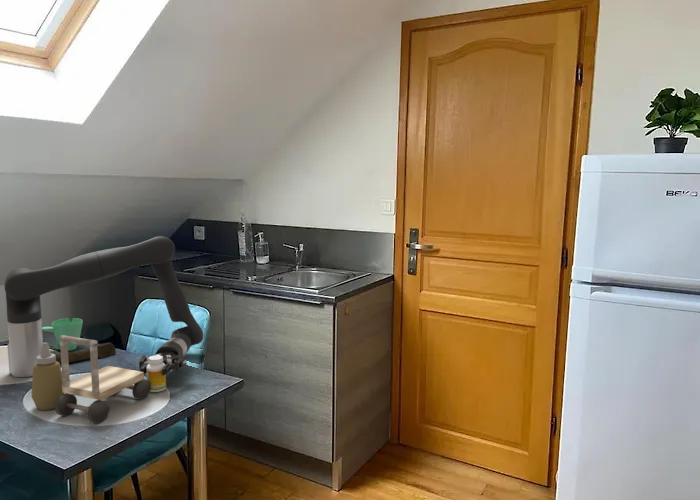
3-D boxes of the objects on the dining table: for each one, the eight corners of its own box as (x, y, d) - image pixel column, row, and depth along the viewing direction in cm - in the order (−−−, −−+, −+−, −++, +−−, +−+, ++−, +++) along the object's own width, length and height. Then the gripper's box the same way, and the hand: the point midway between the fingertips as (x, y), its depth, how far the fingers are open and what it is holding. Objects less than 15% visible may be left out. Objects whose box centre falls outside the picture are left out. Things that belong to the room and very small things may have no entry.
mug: (77, 342, 208) (76, 316, 206) (88, 348, 201) (87, 321, 200) (34, 351, 197) (32, 324, 196) (44, 358, 191) (42, 330, 189)
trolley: (55, 418, 147) (49, 337, 144) (116, 388, 167) (112, 317, 164) (93, 427, 142) (89, 344, 139) (151, 395, 162) (148, 322, 159)
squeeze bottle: (42, 415, 148) (38, 349, 146) (26, 408, 153) (21, 344, 150) (71, 404, 155) (68, 341, 152) (55, 397, 159) (51, 336, 157)
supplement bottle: (169, 389, 166) (168, 357, 164) (151, 394, 162) (150, 362, 161) (161, 383, 170) (160, 353, 168) (143, 388, 166) (142, 356, 164)
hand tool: (57, 367, 183) (57, 354, 182) (55, 364, 186) (54, 350, 185) (117, 356, 195) (117, 343, 194) (114, 353, 198) (113, 340, 197)
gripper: (149, 340, 178) (127, 359, 162) (194, 341, 178) (177, 360, 162) (149, 363, 180) (128, 383, 163) (194, 364, 180) (178, 384, 163)
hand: (153, 371), depth 162 cm, fingers open, 5 cm apart
